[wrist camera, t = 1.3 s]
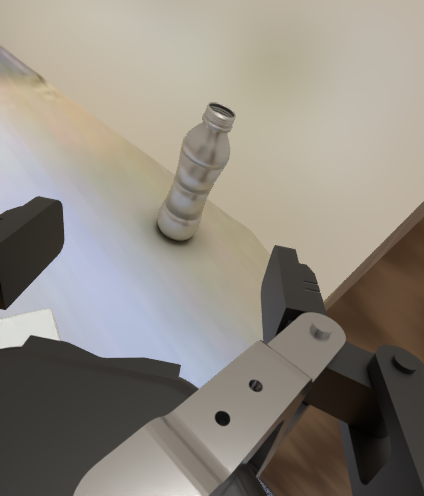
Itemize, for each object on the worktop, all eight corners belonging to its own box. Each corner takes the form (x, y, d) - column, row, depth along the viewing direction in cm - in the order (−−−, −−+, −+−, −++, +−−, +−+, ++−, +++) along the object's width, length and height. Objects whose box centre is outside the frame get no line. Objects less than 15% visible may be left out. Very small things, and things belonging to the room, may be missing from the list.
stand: (211, 421, 34) (498, 145, 13) (274, 350, 43) (501, 123, 22) (311, 539, 30) (944, 406, 9) (357, 433, 39) (726, 249, 18)
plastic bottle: (156, 244, 48) (203, 117, 36) (151, 213, 53) (191, 90, 40) (197, 247, 51) (254, 130, 38) (189, 218, 56) (237, 104, 43)
